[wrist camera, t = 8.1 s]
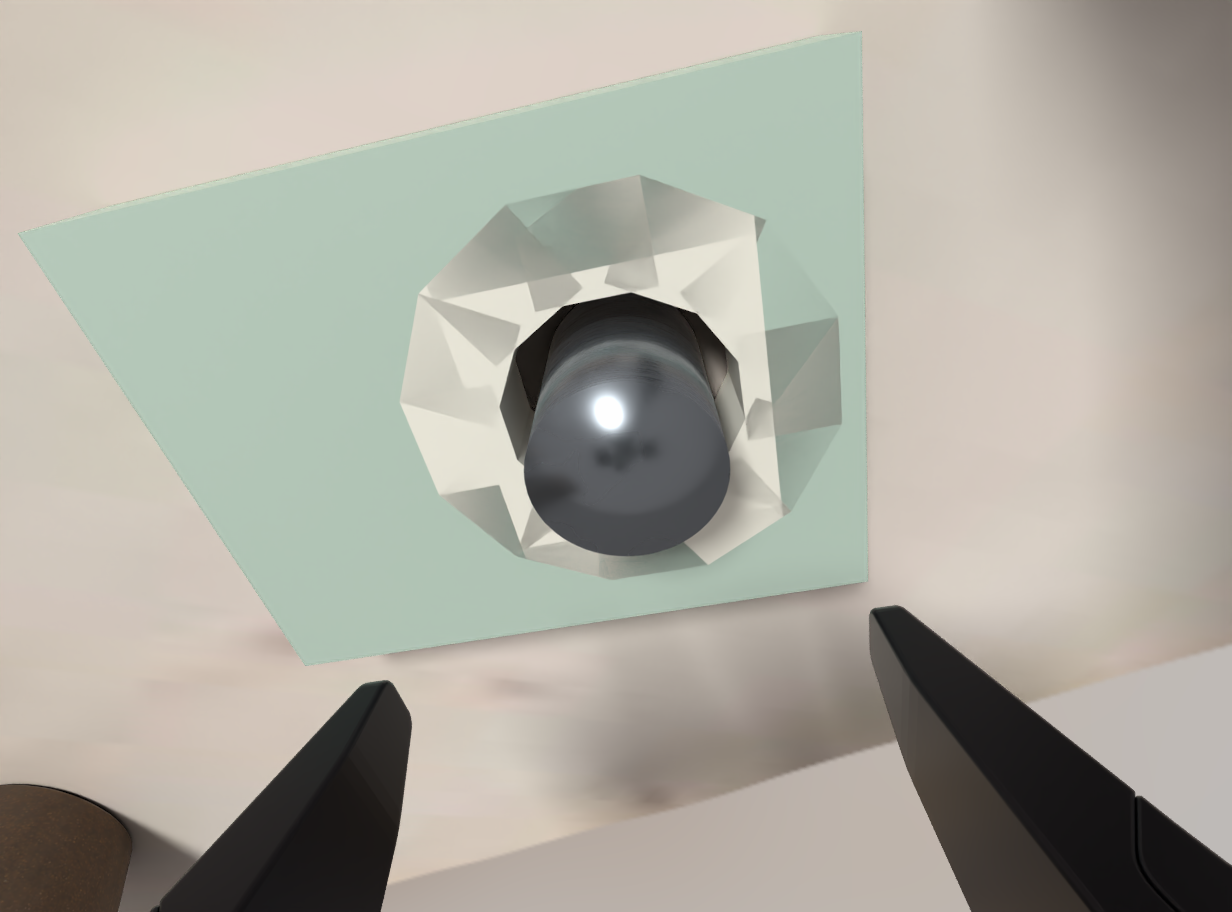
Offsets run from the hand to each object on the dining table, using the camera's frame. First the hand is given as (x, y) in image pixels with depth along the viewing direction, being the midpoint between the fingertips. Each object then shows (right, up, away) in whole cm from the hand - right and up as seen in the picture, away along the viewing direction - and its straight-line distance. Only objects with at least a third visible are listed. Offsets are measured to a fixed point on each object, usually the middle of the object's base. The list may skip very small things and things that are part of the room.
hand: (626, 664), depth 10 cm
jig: (-3, +5, +10) cm, 11 cm away
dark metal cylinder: (0, +6, +9) cm, 11 cm away
